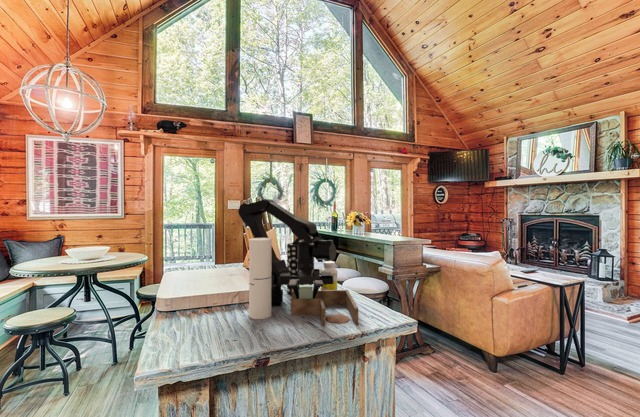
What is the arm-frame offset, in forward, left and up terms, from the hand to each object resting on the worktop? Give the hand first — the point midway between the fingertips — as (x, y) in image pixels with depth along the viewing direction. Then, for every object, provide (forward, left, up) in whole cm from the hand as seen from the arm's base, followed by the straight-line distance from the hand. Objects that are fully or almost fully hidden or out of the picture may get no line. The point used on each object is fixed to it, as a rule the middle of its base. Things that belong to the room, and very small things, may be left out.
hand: (305, 303), depth 109 cm
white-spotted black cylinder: (-3, +21, -2) cm, 21 cm away
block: (0, 0, -2) cm, 2 cm away
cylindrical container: (-15, -5, -2) cm, 16 cm away
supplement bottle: (+10, +19, -2) cm, 22 cm away
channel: (+5, -4, -2) cm, 7 cm away
